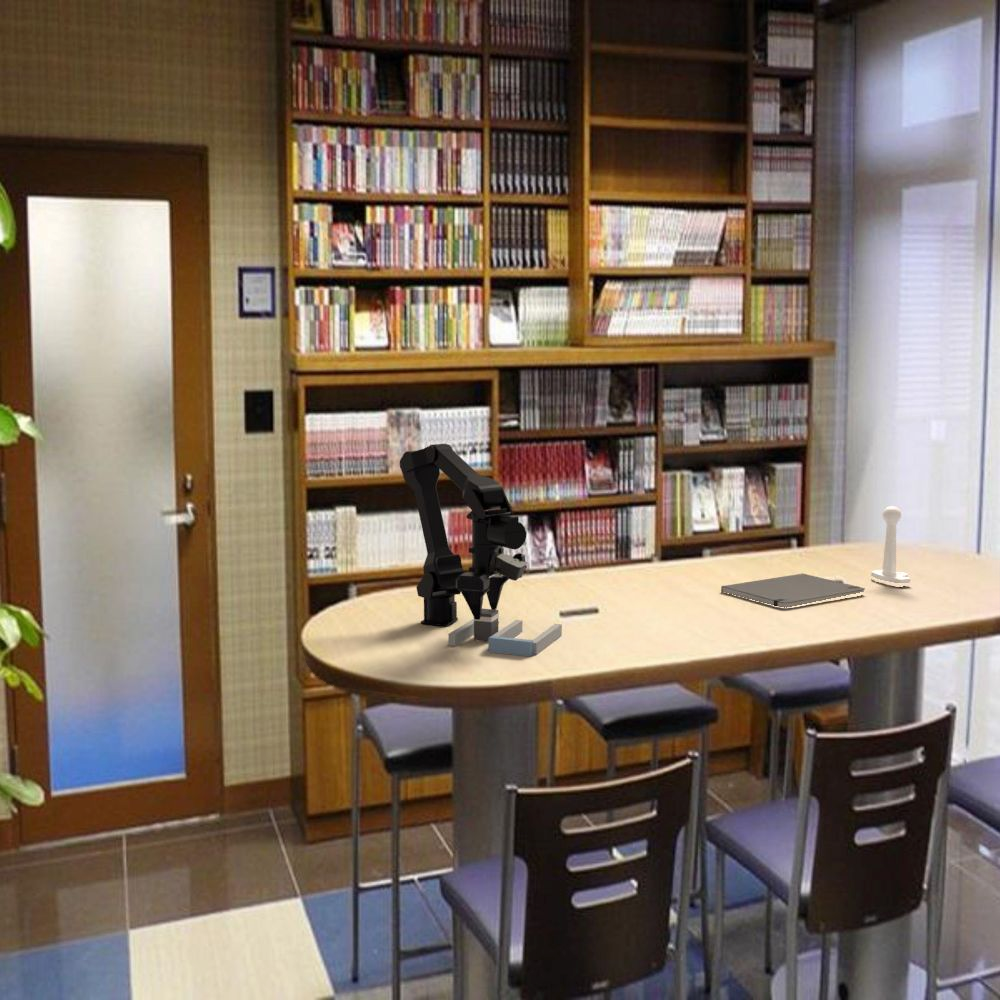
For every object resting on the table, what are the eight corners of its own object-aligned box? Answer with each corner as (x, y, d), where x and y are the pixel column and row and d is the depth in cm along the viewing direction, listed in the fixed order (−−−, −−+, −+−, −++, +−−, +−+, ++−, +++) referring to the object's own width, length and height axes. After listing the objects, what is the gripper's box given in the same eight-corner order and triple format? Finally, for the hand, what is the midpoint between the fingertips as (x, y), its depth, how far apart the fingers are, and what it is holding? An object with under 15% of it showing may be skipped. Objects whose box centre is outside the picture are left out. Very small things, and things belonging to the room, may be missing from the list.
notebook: (802, 581, 317) (720, 594, 302) (802, 572, 317) (721, 585, 302) (867, 597, 299) (783, 612, 284) (867, 588, 299) (784, 602, 284)
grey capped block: (473, 640, 259) (473, 612, 258) (481, 635, 262) (480, 608, 261) (491, 642, 257) (491, 614, 256) (498, 637, 261) (498, 609, 260)
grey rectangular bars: (445, 647, 253) (445, 633, 252) (477, 627, 269) (477, 614, 268) (533, 656, 246) (534, 642, 245) (561, 635, 262) (561, 622, 261)
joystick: (867, 579, 316) (870, 503, 313) (890, 577, 319) (893, 501, 316) (896, 588, 306) (900, 510, 303) (920, 585, 309) (924, 508, 306)
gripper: (505, 553, 245) (505, 628, 247) (536, 537, 262) (536, 607, 265) (454, 549, 249) (454, 623, 252) (488, 533, 266) (488, 603, 269)
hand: (485, 614), depth 259 cm, fingers open, 9 cm apart
